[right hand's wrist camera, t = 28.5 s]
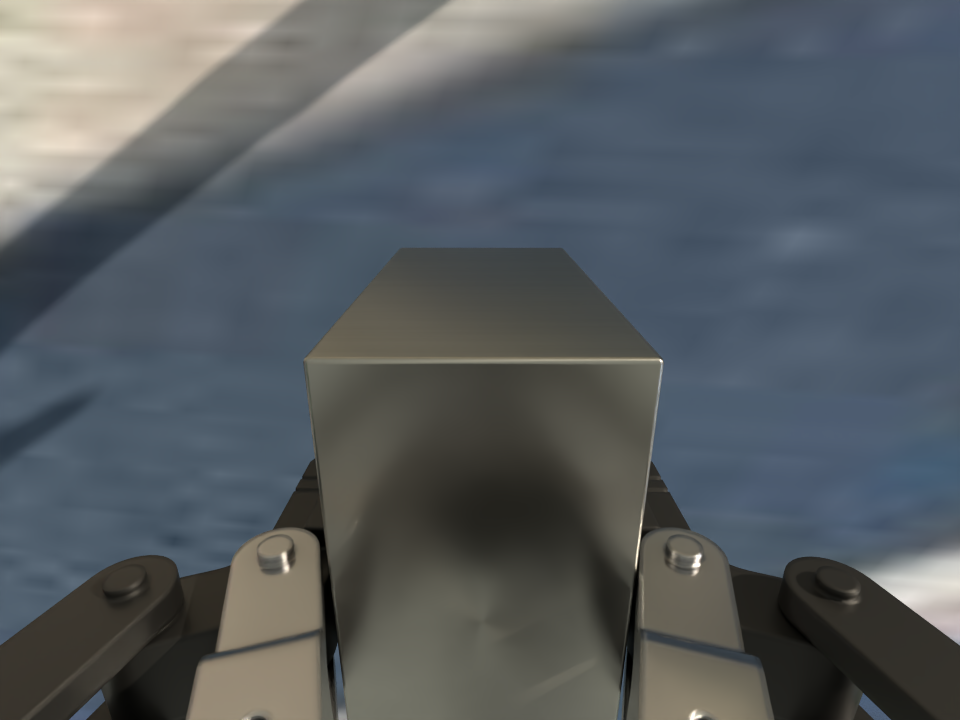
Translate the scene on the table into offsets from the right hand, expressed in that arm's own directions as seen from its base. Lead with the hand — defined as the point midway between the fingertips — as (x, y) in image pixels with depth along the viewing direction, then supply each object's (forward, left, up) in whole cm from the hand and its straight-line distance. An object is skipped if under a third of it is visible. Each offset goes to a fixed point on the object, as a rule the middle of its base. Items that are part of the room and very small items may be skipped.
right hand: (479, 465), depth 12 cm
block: (0, 0, -4) cm, 4 cm away
